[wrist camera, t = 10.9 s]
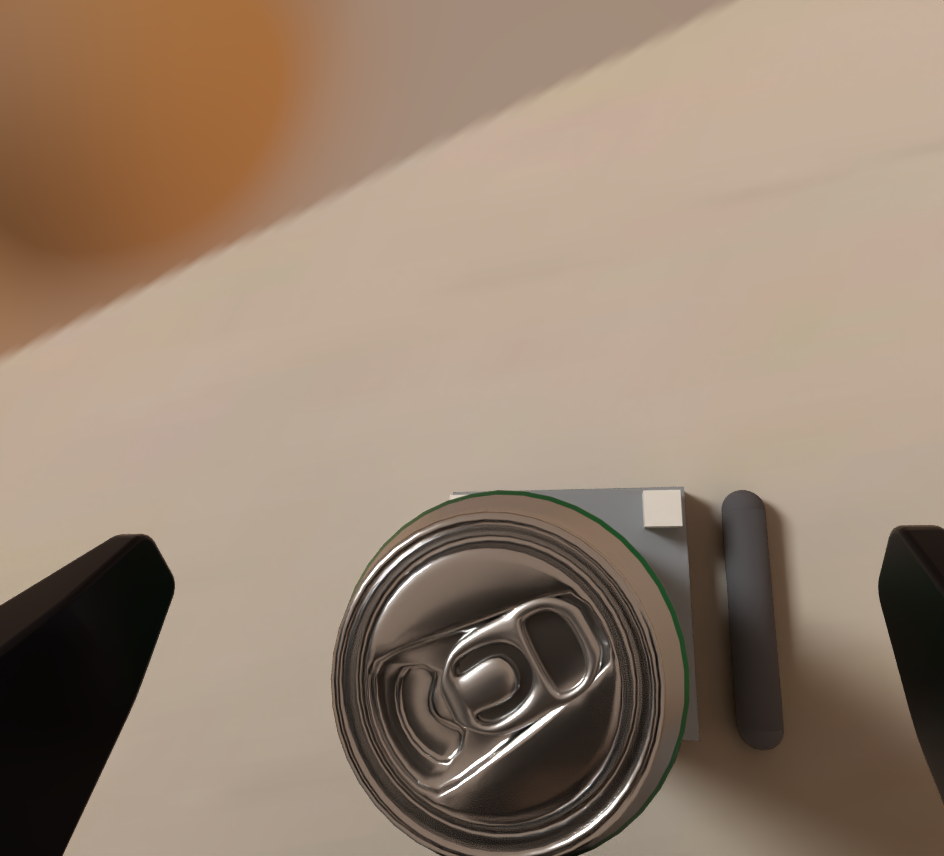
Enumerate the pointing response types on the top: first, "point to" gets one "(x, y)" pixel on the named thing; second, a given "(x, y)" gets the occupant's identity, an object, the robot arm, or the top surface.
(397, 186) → the top surface
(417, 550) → the soda can
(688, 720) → the switch plate
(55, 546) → the top surface
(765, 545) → the dark grey rod
